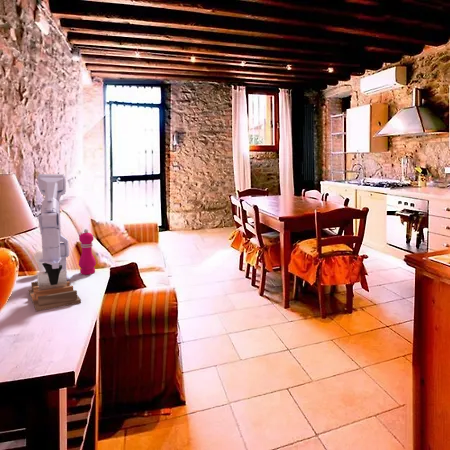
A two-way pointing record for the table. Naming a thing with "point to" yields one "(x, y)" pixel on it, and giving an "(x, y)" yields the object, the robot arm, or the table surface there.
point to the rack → (53, 297)
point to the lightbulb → (38, 256)
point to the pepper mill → (86, 254)
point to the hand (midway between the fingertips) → (53, 283)
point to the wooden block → (45, 283)
